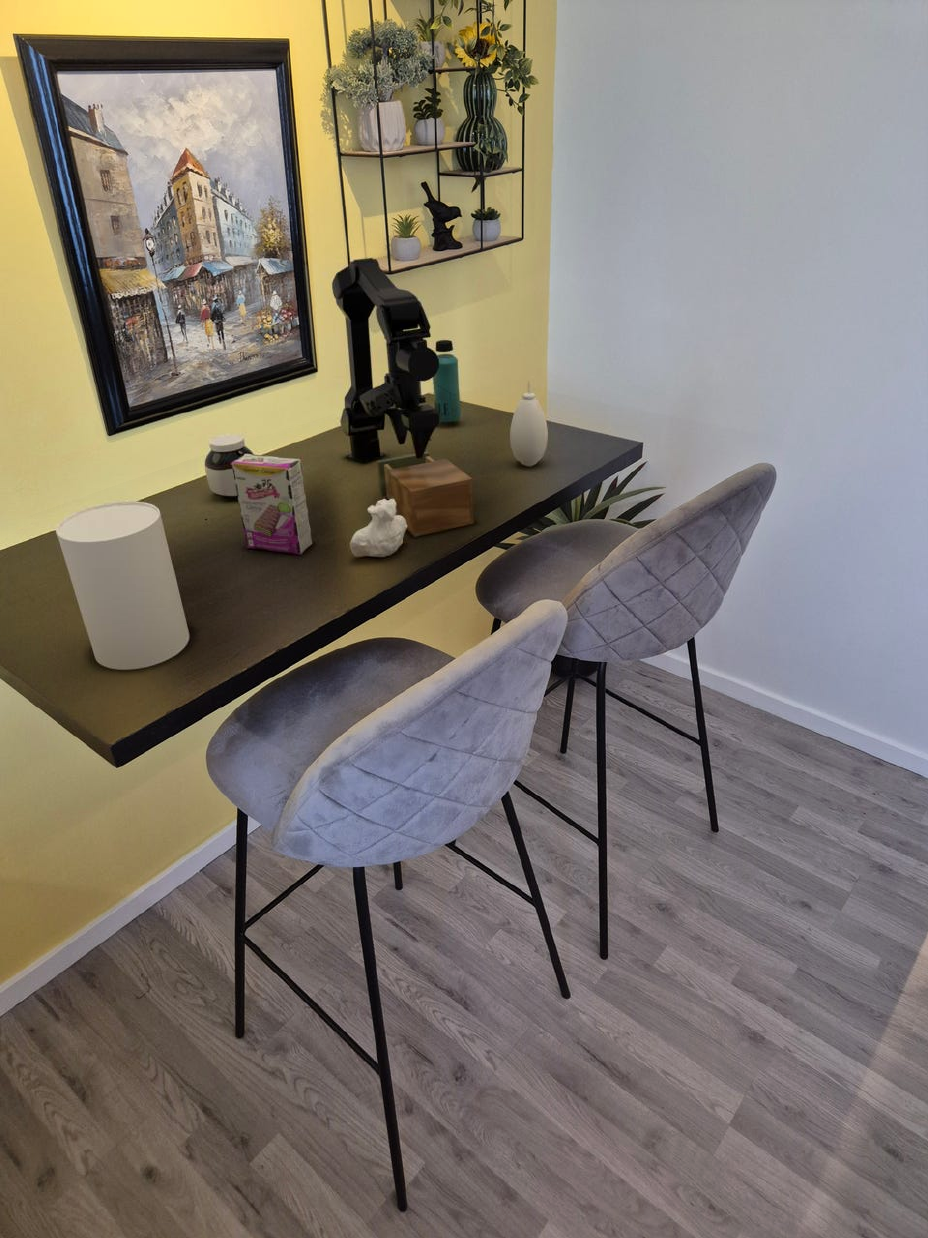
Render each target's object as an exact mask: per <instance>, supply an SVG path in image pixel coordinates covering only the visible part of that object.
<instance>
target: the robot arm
mask: <svg viewBox="0 0 928 1238" xmlns="http://www.w3.org/2000/svg"><path fill="white" fill-rule="evenodd" d="M331 288H332V294H333V298H334V299H335V302H336V305H337V307H338V308H339V310H340V312H342V314H343V316H344V318H345V327H346V339H347V341H346V343H347V350H348V352H347V353H348V364H349V365H348V367H349V377H350V378H349V379H350V387H349V389H348V391H347V392H346V394H345V396H344V408H343V409H342V413H341V417H340V421H339V422H340V426H341V431H342V432H343V433H344V434H345V435H346V436H347V437H349V443H350V452H351V453H348V454H346V455H345V458H346V459H349V460H352V461H355V462H358V463H361V464H366V463H370V462H372V461H375V460H378V459H381V458H384V457H386V453H385V452H381V447H380V445H381V444H380V438H379V432H378V431H384V430H385V424H386V415H387V416H388V419H389V420H390V422H391V425H392V429H393V431H394V433H395V436H396V439H397V443H398V445H404V444H405V443H406V440H407V435H408V432H409V433H410V437H411V442H412V447H413V451H414V454H415V455H416V458H417V459H419V458H422V457H423V454H424V452H426V449H427V447H428V445H429V442H430V440H431V437H432V435H433V433H434V431H435V429H436V428H438V426H439V425H440V424H441V423H442V422H441V415H440V412H439V411H437V410H436V409H435V408H434V406H433V405H430V404H429V403H428V404H425V403H426V396H424V395H422V382H427V381H431V379H433V377H434V376H435V374H436V373H437V371H438V368H439V359H438V357H437V355H438V354H437V353H436V351H434V350H433V349H432V348H430V347H428V341H427V339H429V338H431V337H432V335H431V331H430V330H431V324H430V322H429V319H428V316H427V313H426V311H425V308H424V307H423V304H422V302H421V300H419V299H418V296H417V295H415V294H413V292H411V291H409V290H406V289H402V288H401V289H400V288H398V287H397V286H396V285H395V284H394V283H393V281H392V280H391V279H390V278H389V277H388V275H387V274H386V273H385V272H384V271H383V269H381V267H380V263H379V261H378V259H376V258H373V257H367V258H358V259H357V258H356V259H353V260H352V261H350V262H349V263H348V265H347V266H346V267H344V268H343V269H341V270H340V271H338V272H336V274H335V275H334V278H333V280H332V282H331ZM374 309H375V314H376V315H375V316H376V320H377V324H378V326H379V328H380V331H381V332H382V335H383V339H384V340H385V341H386V342H385V347H386V356H387V358H386V359H387V369H388V373H385V375H384V376H383V381H384V382H383V383H381V384H379V385H377V386H375V387H374V385H373V384H374V381H373V380H374V379H373V368H372V367H373V366H372V365H373V364H372V350H371V335H370V318H371V315H372V314H373V311H374ZM420 404H422V405H420Z"/></svg>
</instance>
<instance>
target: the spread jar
mask: <svg viewBox="0 0 928 1238" xmlns="http://www.w3.org/2000/svg"><path fill="white" fill-rule="evenodd" d="M244 437H245V436H243V435H241V434H234V433H228V434H222V435H217V436H214V437H212V438H211V439H209V440H208V444H209V449H210V450H209V451H208V453H207V454H206V456H205V458H204V471H205V476H206V481H207V484H208V488H209V489H210V492H211V493H213V494H214V495H215V496H216V497H217V498H220V499H222V500H224V501H238V496H237V491H236V485H235V480H234V474H233V469H232V464H231V463H232V462H233V461H235V460H237V459H238V458H240V457H241V456H243V455H244V454H252V455H255V454H254V452H253V451H252V450H251V449H250V448H249V447H248V446H246V443H245V438H244Z"/></svg>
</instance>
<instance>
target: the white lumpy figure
mask: <svg viewBox="0 0 928 1238" xmlns="http://www.w3.org/2000/svg"><path fill="white" fill-rule="evenodd" d="M396 512H397V510H396V502H395V500H394V499H390V500H389V499H388V500H387V499H386V498H383V499H380V500H377V501H376V504H375V505H374V504H371V505H370V506H369V507H367V513H368V514H370V515H371V518H372V519H371V521H370V522H369V523H368V525H366V526H365V527H363V528H360V529H358V530H357V531H355V533H354V534H353V536H352V537H351V540H350V542H349V549H350V551H351V553H352V555H353V556H354V557H356V558H361V557H372V558H374V557H375V558H385V557H387V556H388V557H389V556H391V555H392V554H395V552H397V551H398V549H399V548H400V547H401V546H402V544H404V540H403V539H404V536H405V534H406V532H407V529H406V528H407V524H406V520H405V518H404V517H403V516H400V515H396Z"/></svg>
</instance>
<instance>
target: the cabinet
mask: <svg viewBox="0 0 928 1238" xmlns="http://www.w3.org/2000/svg"><path fill="white" fill-rule="evenodd" d="M388 478H389V489H390V499H394V500H395V502H396V510H397V512H396V515H400V516H403V517H404V518H405V520H406V524H407V528H406V531H408V533H410V534H411V535H412V536H413V537H414V538H416V537H417V538H418V537H422V536H426V535H429V534H434V533H439V532H443V531H448V530H452V529H456V528H461V527H464V526H469V525H474V523H475V522H474V499H473V478H472V477H470V476H469V474H466V473H465V472H464V471H462V470H461V469H460V468H459V467H457V465H455V464H453V463H452V462H451V461H449V460H448V459H447V458H444V459H439V460H435V461H433V462H428V463H423V464H418V465H413V466H408V467H403V468H398V469H393V470H388Z"/></svg>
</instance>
